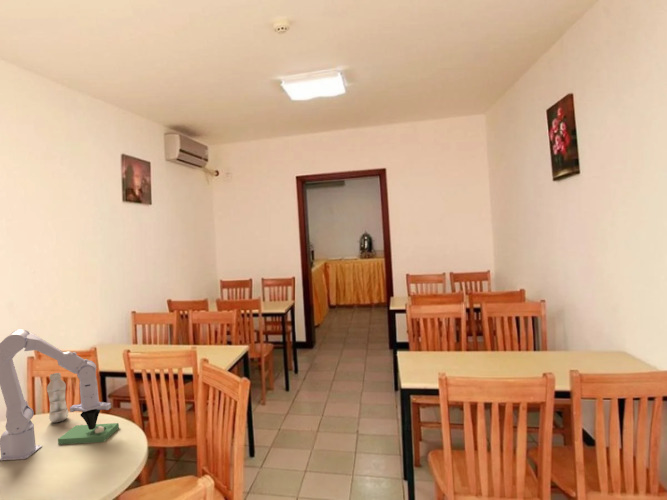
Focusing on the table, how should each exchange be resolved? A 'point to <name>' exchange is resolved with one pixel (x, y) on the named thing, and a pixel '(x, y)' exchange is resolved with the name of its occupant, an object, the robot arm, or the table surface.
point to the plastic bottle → (57, 398)
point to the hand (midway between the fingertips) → (92, 428)
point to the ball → (99, 429)
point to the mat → (87, 434)
